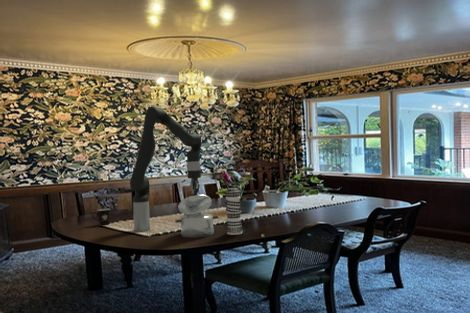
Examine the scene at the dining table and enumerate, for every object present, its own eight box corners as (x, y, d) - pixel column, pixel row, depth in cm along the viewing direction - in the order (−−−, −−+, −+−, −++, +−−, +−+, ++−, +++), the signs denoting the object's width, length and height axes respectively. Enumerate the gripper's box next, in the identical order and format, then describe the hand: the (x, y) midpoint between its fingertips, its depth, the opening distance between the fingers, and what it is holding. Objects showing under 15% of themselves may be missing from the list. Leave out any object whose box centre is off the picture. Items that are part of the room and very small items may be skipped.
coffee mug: (113, 223, 294) (112, 208, 293) (108, 225, 285) (107, 210, 285) (97, 223, 295) (96, 208, 295) (91, 226, 286) (90, 211, 286)
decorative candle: (233, 230, 249) (231, 187, 248) (246, 232, 243) (244, 187, 242) (223, 233, 242) (220, 188, 241) (235, 235, 236) (233, 189, 235)
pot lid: (180, 198, 236) (180, 193, 238) (176, 216, 251) (175, 212, 253) (214, 195, 242) (213, 190, 244) (208, 213, 257) (207, 209, 259)
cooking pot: (179, 239, 233) (178, 220, 232) (173, 233, 250) (172, 216, 249) (222, 234, 240) (221, 216, 240) (213, 228, 257) (212, 212, 257)
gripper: (184, 169, 250) (186, 199, 250) (190, 170, 237) (191, 202, 238) (197, 168, 252) (199, 198, 253) (203, 169, 240) (205, 201, 240)
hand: (195, 200), depth 245 cm, fingers closed
